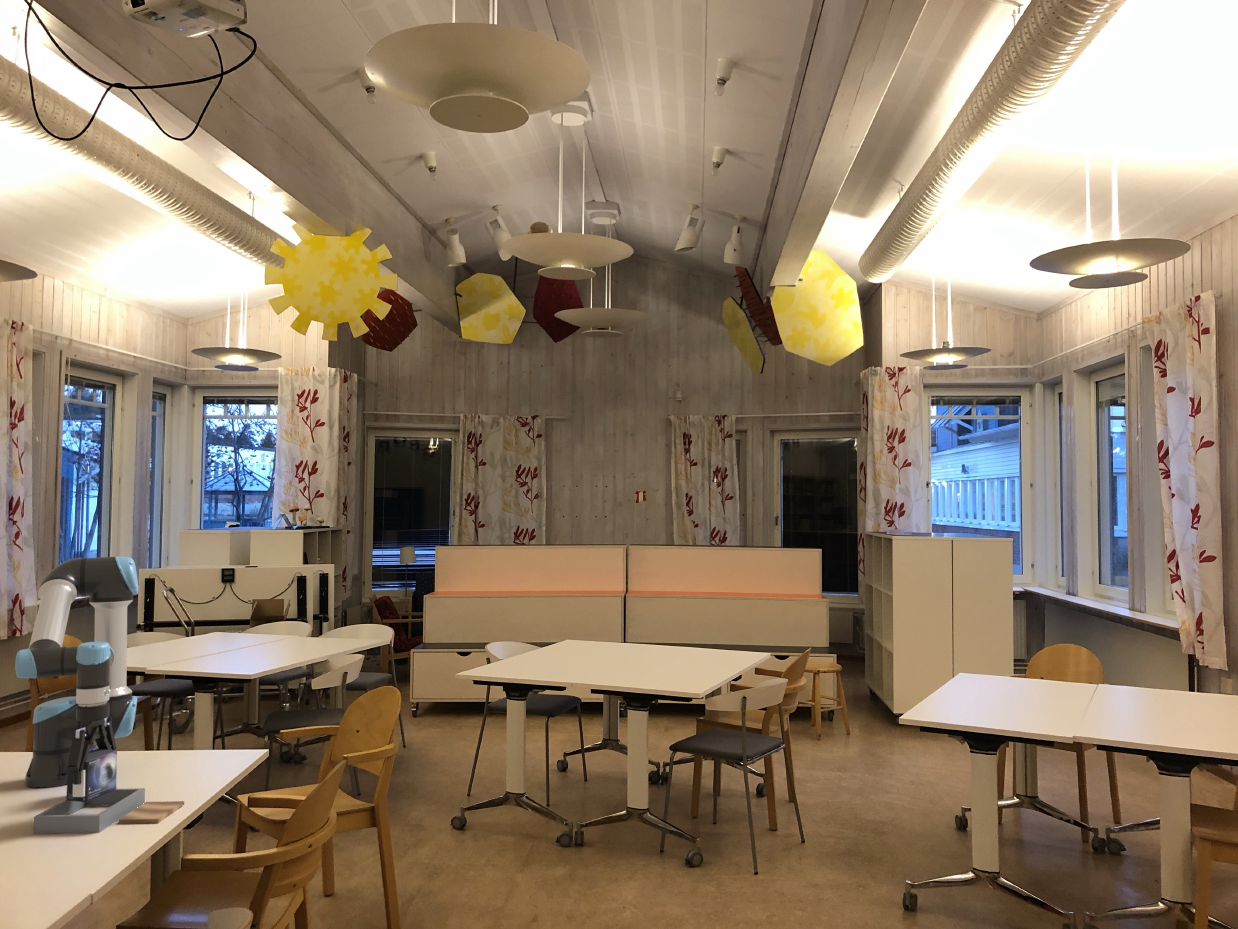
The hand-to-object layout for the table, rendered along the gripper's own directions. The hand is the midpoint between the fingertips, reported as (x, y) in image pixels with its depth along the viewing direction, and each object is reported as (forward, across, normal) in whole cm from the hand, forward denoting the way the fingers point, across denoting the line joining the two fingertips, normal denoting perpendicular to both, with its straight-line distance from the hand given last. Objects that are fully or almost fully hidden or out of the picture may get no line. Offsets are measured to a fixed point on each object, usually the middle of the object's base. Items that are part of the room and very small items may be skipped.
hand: (92, 788), depth 237 cm
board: (+7, +1, -15) cm, 16 cm away
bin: (+7, -1, 0) cm, 7 cm away
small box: (+2, 0, 0) cm, 2 cm away
